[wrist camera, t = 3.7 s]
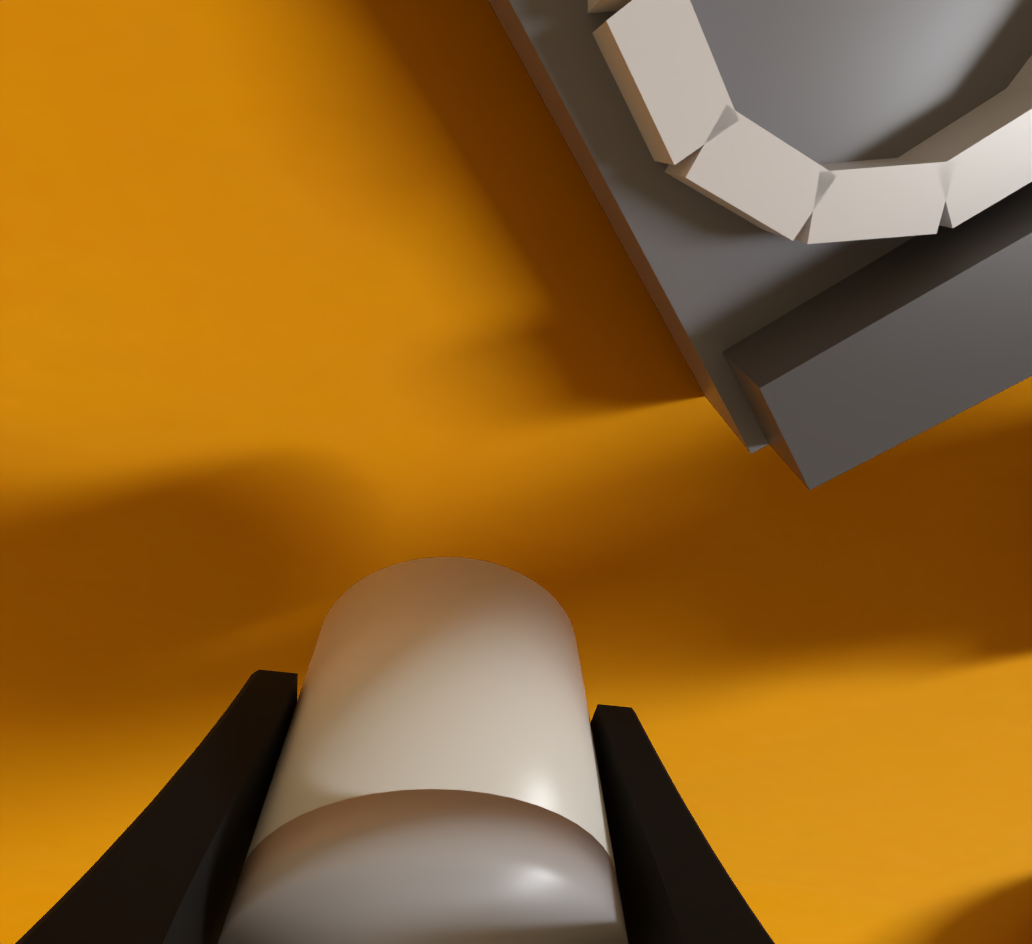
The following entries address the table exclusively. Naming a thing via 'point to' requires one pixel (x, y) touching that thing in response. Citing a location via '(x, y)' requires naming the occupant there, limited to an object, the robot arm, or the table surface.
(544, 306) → the table surface
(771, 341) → the grey plate with ring
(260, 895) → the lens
